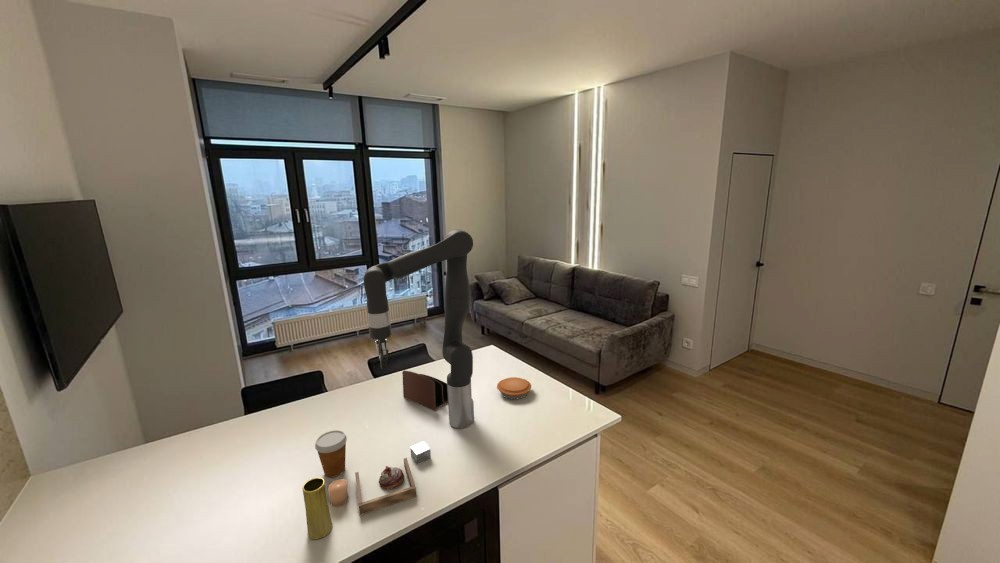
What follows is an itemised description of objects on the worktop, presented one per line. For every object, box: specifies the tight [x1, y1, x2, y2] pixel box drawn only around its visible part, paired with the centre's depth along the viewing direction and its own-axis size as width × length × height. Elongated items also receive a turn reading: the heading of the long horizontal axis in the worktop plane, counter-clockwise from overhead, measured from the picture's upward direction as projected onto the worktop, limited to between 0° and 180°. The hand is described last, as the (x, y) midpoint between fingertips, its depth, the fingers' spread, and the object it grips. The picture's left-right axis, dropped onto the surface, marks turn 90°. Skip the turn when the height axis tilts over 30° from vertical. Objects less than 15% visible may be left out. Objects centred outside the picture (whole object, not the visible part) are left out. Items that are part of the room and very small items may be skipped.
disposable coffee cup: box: [314, 429, 348, 478], centre depth 122 cm, size 10×10×12 cm
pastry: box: [378, 465, 405, 490], centre depth 118 cm, size 8×8×5 cm
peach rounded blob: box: [328, 478, 349, 508], centre depth 111 cm, size 5×5×5 cm
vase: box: [301, 477, 334, 540], centre depth 100 cm, size 6×6×14 cm
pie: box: [496, 376, 532, 400], centre depth 169 cm, size 15×16×5 cm
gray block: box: [409, 441, 432, 465], centre depth 128 cm, size 5×5×4 cm
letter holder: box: [402, 370, 448, 412], centre depth 164 cm, size 10×20×14 cm, turn 55°
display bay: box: [354, 457, 417, 516], centre depth 115 cm, size 16×14×3 cm
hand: (384, 368), depth 137 cm, fingers closed
